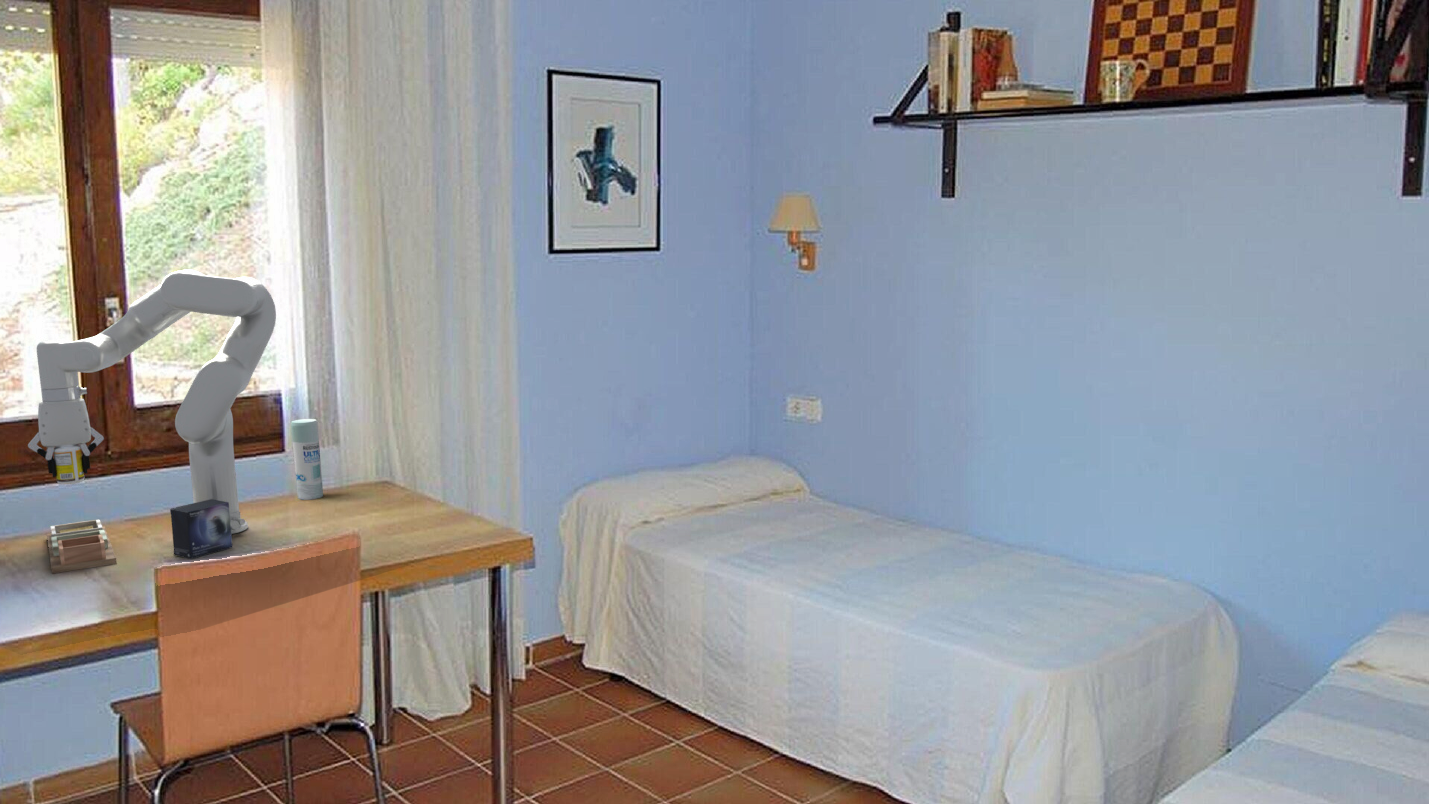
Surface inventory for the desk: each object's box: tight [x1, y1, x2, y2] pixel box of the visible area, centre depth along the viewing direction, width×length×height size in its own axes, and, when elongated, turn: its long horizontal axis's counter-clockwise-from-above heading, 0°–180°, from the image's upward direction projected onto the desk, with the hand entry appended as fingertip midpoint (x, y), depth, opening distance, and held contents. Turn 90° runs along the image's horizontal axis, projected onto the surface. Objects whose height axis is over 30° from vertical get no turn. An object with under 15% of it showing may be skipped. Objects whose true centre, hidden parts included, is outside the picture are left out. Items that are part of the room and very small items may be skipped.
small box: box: [169, 499, 233, 560], centre depth 263 cm, size 11×6×10 cm, turn 148°
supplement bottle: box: [53, 444, 85, 486], centre depth 274 cm, size 6×6×10 cm
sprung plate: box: [59, 526, 93, 533], centre depth 277 cm, size 7×7×1 cm
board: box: [46, 519, 117, 574], centre depth 268 cm, size 34×12×5 cm, turn 30°
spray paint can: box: [290, 418, 324, 501], centre depth 313 cm, size 6×6×20 cm
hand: (69, 473), depth 275 cm, fingers closed on supplement bottle, 5 cm apart
